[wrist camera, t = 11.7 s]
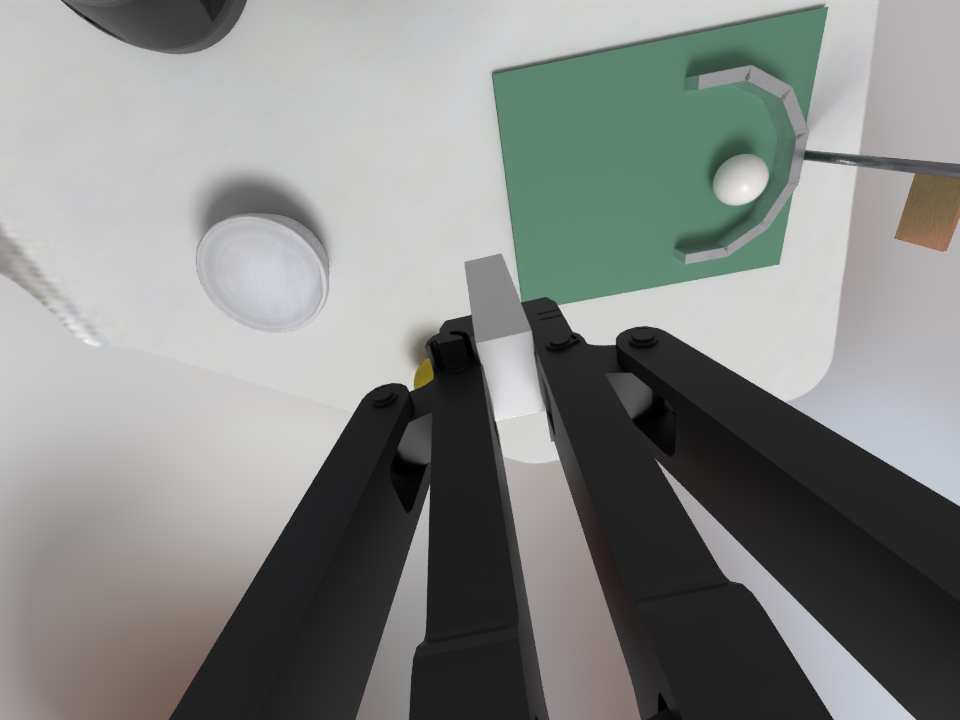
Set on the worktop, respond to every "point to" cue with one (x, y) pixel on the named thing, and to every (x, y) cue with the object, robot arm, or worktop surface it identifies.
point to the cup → (931, 198)
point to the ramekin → (264, 271)
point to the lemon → (423, 374)
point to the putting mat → (642, 157)
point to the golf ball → (740, 179)
